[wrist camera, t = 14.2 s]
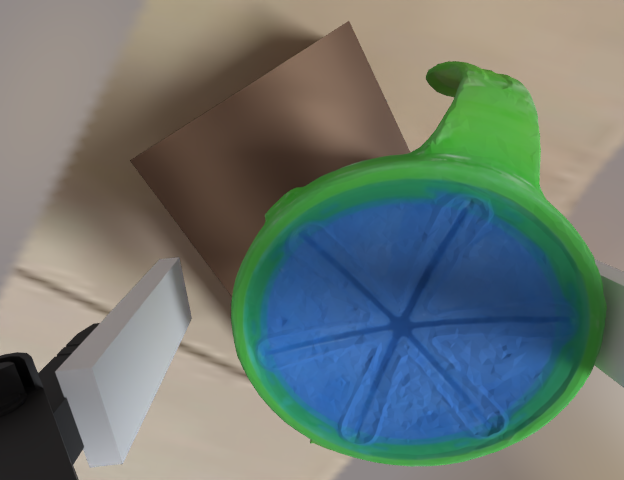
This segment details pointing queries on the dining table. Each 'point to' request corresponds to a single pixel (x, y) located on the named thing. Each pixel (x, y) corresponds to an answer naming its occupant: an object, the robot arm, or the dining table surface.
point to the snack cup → (424, 292)
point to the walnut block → (270, 146)
